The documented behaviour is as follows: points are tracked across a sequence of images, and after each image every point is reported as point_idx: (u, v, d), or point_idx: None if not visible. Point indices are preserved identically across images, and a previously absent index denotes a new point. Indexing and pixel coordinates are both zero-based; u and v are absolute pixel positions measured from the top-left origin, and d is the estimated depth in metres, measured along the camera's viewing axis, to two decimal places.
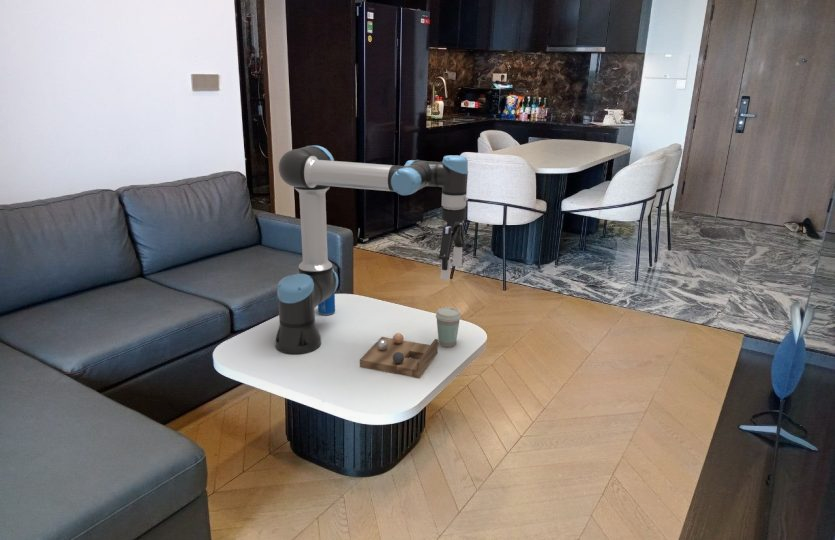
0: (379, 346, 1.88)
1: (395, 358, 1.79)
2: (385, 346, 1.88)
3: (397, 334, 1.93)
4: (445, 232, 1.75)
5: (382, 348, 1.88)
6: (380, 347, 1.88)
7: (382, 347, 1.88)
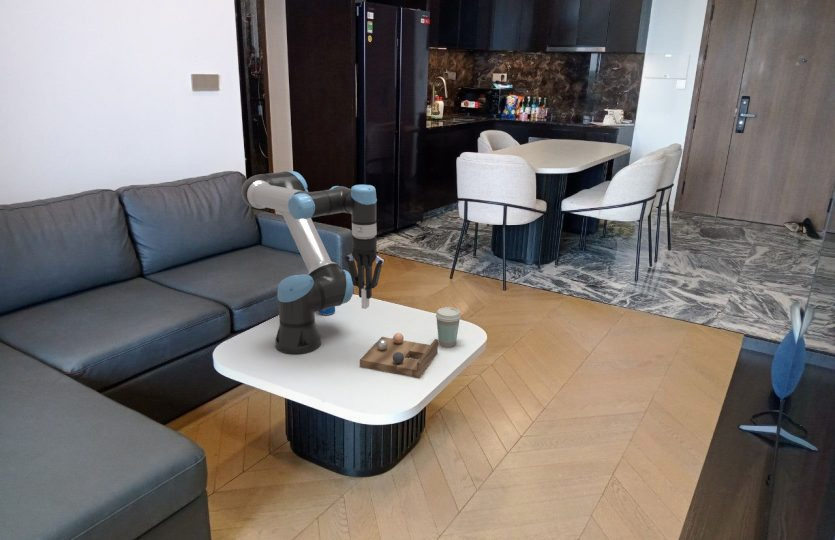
0: (379, 346, 1.88)
1: (395, 358, 1.79)
2: (385, 346, 1.88)
3: (397, 334, 1.93)
4: None
5: (382, 348, 1.88)
6: (380, 347, 1.88)
7: (382, 347, 1.88)
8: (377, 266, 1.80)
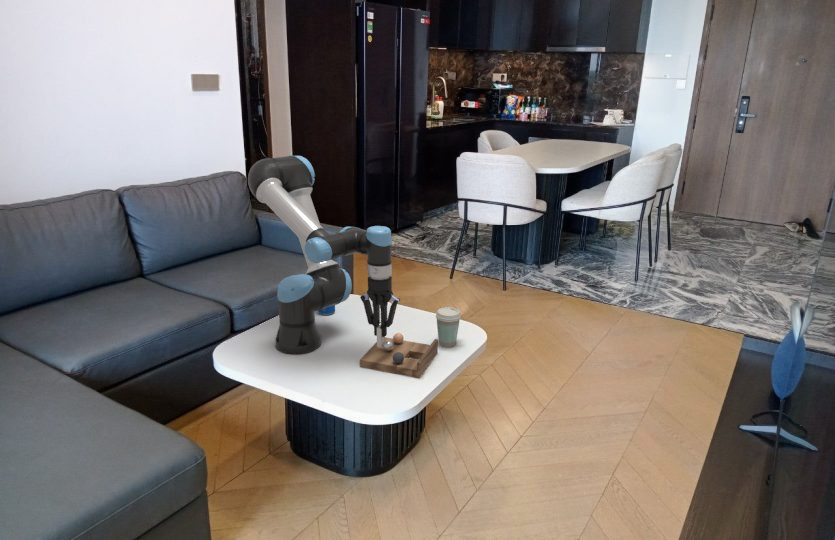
0: (385, 346, 1.87)
1: (395, 358, 1.79)
2: None
3: (397, 334, 1.93)
4: None
5: (385, 349, 1.88)
6: (385, 348, 1.87)
7: (386, 349, 1.87)
8: (392, 306, 1.82)
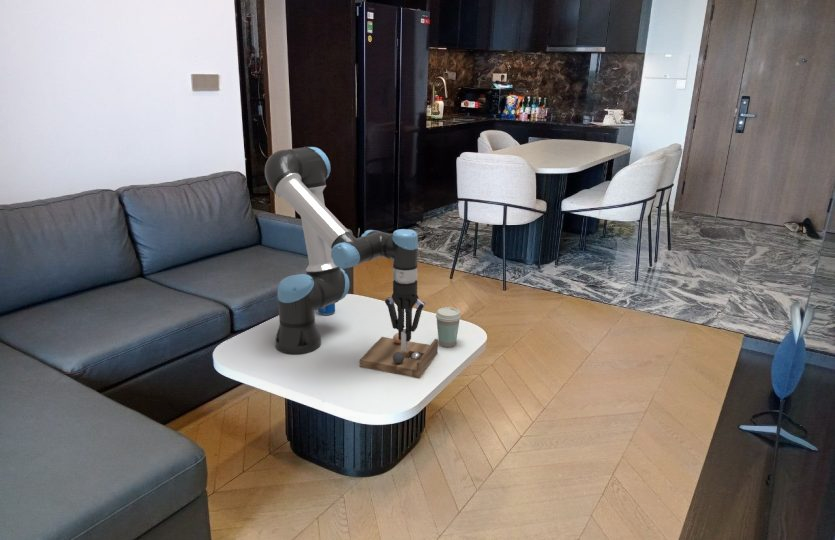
0: None
1: (395, 358, 1.79)
2: None
3: (397, 334, 1.93)
4: None
5: None
6: None
7: None
8: (418, 310, 1.80)
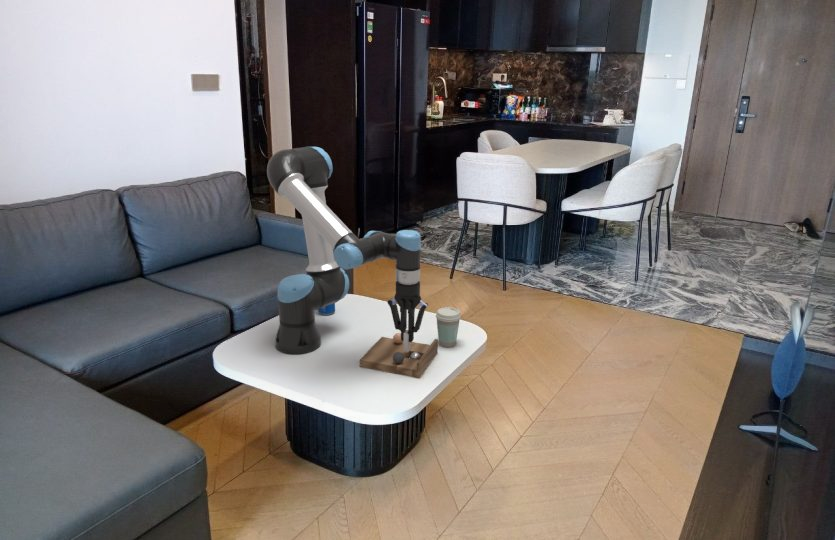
0: (412, 358, 1.85)
1: (395, 358, 1.79)
2: None
3: (397, 334, 1.93)
4: None
5: None
6: None
7: None
8: (420, 311, 1.79)
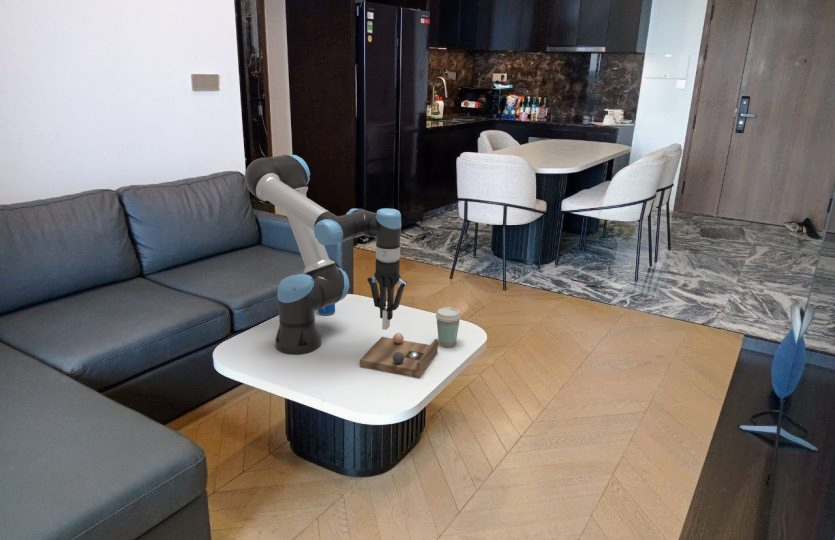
0: (411, 358, 1.85)
1: (395, 358, 1.79)
2: None
3: (397, 334, 1.93)
4: None
5: None
6: None
7: None
8: (399, 289, 1.82)
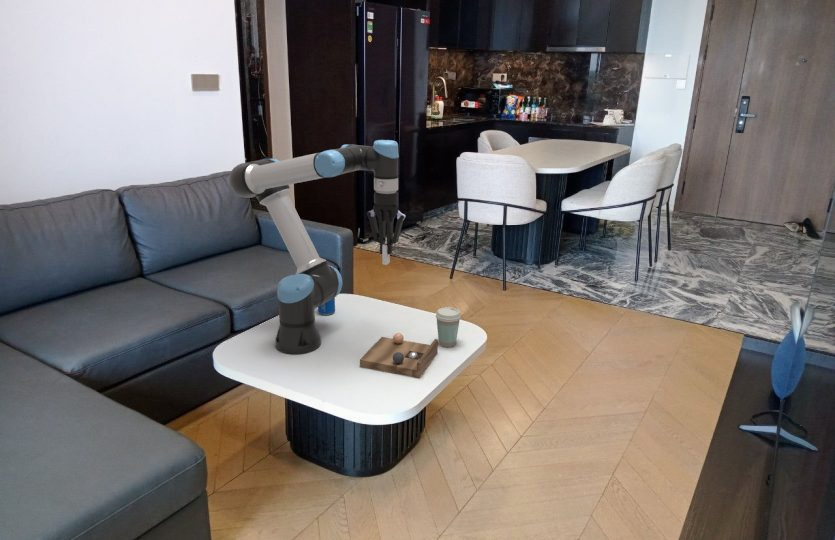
0: (410, 358, 1.85)
1: (395, 358, 1.79)
2: None
3: (397, 334, 1.93)
4: None
5: None
6: None
7: None
8: (398, 221, 1.82)
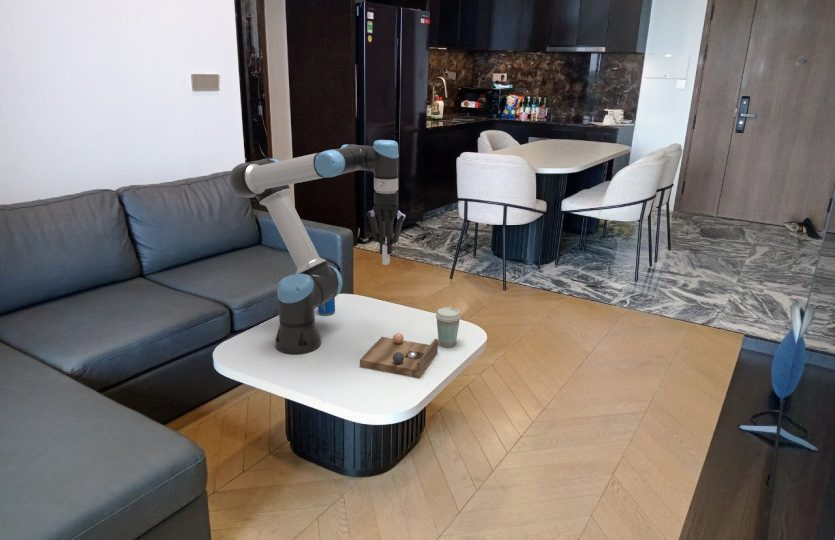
0: None
1: (395, 358, 1.79)
2: None
3: (397, 334, 1.93)
4: None
5: None
6: None
7: None
8: (398, 221, 1.82)
